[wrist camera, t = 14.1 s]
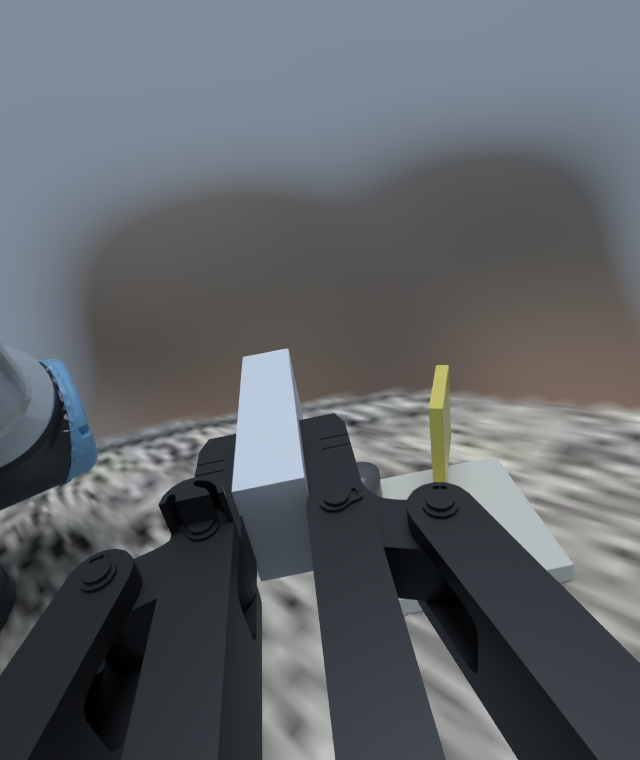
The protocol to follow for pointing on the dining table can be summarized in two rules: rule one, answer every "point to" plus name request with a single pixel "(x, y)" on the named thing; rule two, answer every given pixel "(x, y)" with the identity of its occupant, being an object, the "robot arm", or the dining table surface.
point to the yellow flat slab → (440, 424)
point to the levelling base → (495, 496)
